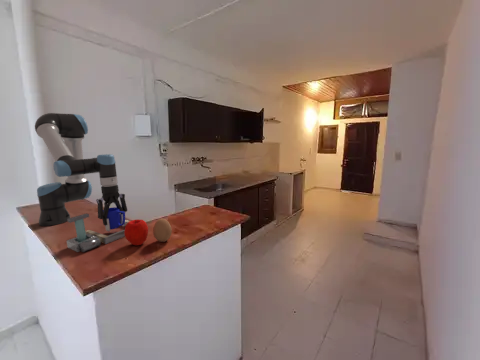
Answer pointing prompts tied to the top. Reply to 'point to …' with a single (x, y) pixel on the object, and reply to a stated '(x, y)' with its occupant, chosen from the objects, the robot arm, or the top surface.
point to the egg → (162, 230)
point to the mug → (115, 217)
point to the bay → (111, 237)
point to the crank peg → (79, 226)
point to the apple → (136, 231)
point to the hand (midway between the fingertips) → (115, 227)
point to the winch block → (84, 243)
